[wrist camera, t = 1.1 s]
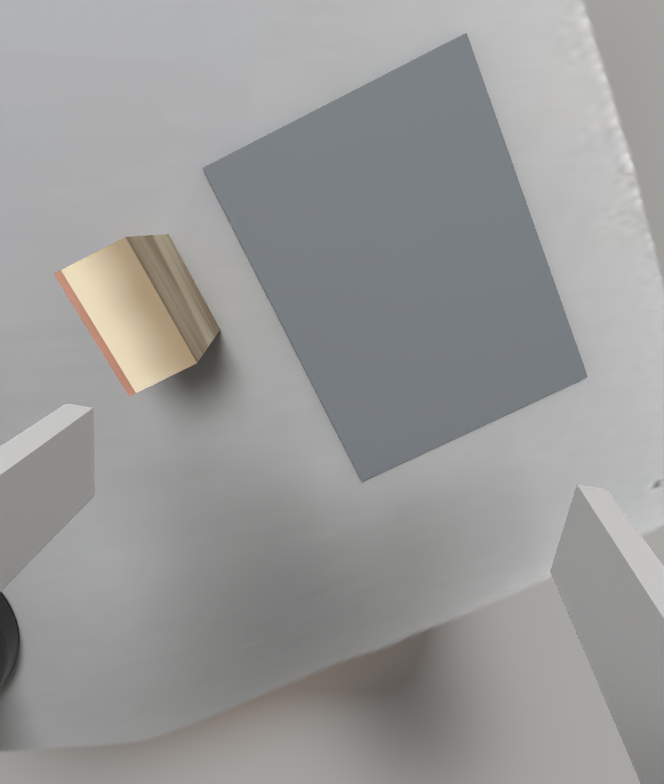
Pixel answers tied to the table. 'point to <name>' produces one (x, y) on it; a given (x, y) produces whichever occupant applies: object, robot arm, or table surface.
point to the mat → (403, 259)
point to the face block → (141, 309)
